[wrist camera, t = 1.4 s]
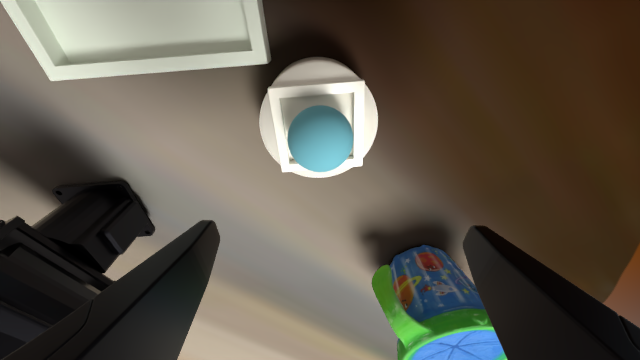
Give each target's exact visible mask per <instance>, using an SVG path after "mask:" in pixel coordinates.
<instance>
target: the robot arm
mask: <svg viewBox="0 0 640 360" xmlns="http://www.w3.org/2000/svg"><path fill="white" fill-rule="evenodd" d="M120 186H121V187H120ZM52 192H53V194H54V195H55V196H56V197H57V198H58V200H59V201H60V202H61V203H62V205H60V206H59V207H58V208H56V209H55V210H53V211H52V212H51V213H49V214H48V215H46V216H45V217H44V218H42V219H41V220H40V221H38V222H37V223H35V224H34V225H33V226H29V225H28V224H26V223H25V220H23V219H22V218H20V217H19V216H16V217H14V218H12V219H10V220H8V221H6V222H5V221H3V220H0V360H177V359H178V356H179V354H180V351H181V349H182V346H183V344H184V341H185V339H186V336H187V334H188V331H189V329H190V326H191V324H192V321H193V319H194V316H195V314H196V312H197V309H198V307H199V304H200V302H201V299H202V297H203V294H204V292H205V289H206V287H207V284H208V281H209V278H210V275H211V271H212V268H213V264H214V261H215V257H216V254H217V250H218V247H219V243H220V235H219V232H218V229H217V226H216V224H215V222H214V221H213V220H202V221H200V222H198V223H197V224H196V225H194V226H193V227H191V228H190V229H189V230H187V231H186V232H184V233H183V234H182V235H180V236H179V237H177V238H176V239H175V240H173V241H172V242H170V243H169V244H168V245H166V246H165V247H163V248H162V249H161V250H159V251H158V252H156V253H155V254H154V255H152V256H151V257H149V258H148V259H147V260H145V261H144V262H142V263H141V264H140V265H138V266H137V267H135V268H134V269H133V270H131V271H130V272H128V273H127V274H126V275H124V276H123V277H121V278H120V279H119V280H117V281H113V280H111V279H110V278H108V277H106V276H105V275H103V274H102V273H105V272H106V271H107V270H108V268H109V267H110V266H111V265H112V263H113V262H114V261H115V260H116V259H117V257H118V256H119V255H120V254H123V253H124V252H125V251H126V250H127V249H128V247H129V246H130V245H131V244H132V242H133V241H134V240H135V239H136V237H141V236H151V235H153V233H154V232H155V229H154V228H153V226H152V224H151V223H150V221H149V219H148V218H147V216H146V214H145V213H144V211H143V209H142V208H141V206H140V204H139V203H138V201H137V199H136V198H135V196H134V194H133V193H132V191H131V189H130V188H129V186H128V185H127V183H125V182H123V181H116V182H103V183H90V184H78V185H65V186H57V187H56V188H54V189H53V190H52ZM463 249H464V252H465V255H466V259H467V262H468V265H469V268H470V271H471V274H472V277H473V280H474V283H475V286H476V289H477V292H478V294H479V296H480V299H481V301H482V303H483V306H484V308H485V310H486V312H487V315H488V317H489V319H490V321H491V324H492V326H493V328H494V330H495V333H496V335H497V337H498V340H499V342H500V344H501V346H502V349H503V351H504V353H505V355H506V358H507V360H640V328H639V327H637V326H636V325H634V324H633V323H631V322H630V321H628V320H627V319H625V318H624V317H622V316H618V314H617V313H616V312H615V311H613V310H612V309H610V308H609V307H607V306H605V305H604V304H602V303H601V302H599V301H598V300H596V299H595V298H593V297H592V296H590V295H589V294H587V293H586V292H584V291H583V290H581V289H580V288H578V287H577V286H575V285H574V284H572V283H571V282H569V281H568V280H566V279H565V278H563V277H562V276H560V275H559V274H557V273H556V272H554V271H553V270H551V269H550V268H548V267H547V266H545V265H543V264H542V263H540V262H539V261H537V260H536V259H534V258H533V257H531V256H530V255H528V254H527V253H525V252H524V251H522V250H521V249H519V248H518V247H516V246H515V245H513V244H512V243H510V242H509V241H507V240H506V239H504V238H503V237H501V236H500V235H498V234H497V233H495V232H494V231H492V230H491V229H489V228H488V227H486V226H471V227H470V228H469V230H468V232H467V234H466V236H465V239H464V241H463Z"/></svg>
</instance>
